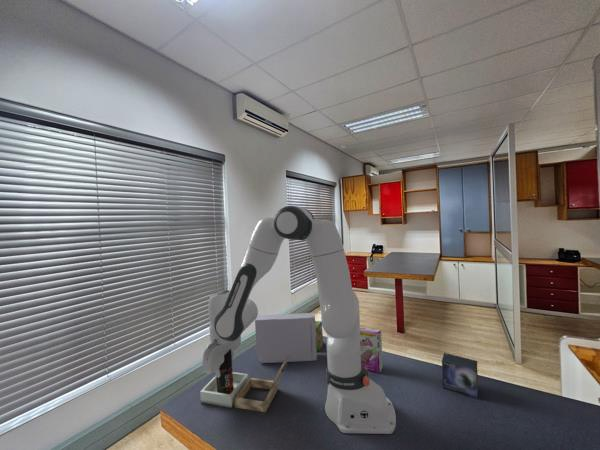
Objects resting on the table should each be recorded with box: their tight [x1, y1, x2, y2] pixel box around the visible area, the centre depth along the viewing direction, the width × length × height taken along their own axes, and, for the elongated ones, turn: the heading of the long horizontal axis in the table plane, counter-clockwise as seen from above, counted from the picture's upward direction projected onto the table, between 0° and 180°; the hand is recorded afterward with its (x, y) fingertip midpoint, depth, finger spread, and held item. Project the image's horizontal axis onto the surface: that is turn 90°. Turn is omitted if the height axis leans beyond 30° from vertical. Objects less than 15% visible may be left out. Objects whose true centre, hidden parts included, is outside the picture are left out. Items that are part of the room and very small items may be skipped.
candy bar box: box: [360, 325, 384, 374], centre depth 104 cm, size 11×5×16 cm, turn 58°
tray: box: [199, 371, 249, 409], centre depth 93 cm, size 13×13×4 cm
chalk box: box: [315, 320, 324, 353], centre depth 123 cm, size 9×9×15 cm
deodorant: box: [216, 349, 234, 394], centre depth 93 cm, size 6×6×15 cm
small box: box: [441, 352, 479, 400], centre depth 88 cm, size 11×6×10 cm, turn 53°
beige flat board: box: [265, 355, 289, 404], centre depth 87 cm, size 12×12×1 cm
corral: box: [234, 377, 279, 413], centre depth 89 cm, size 12×12×3 cm
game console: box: [254, 312, 318, 364], centre depth 113 cm, size 6×27×20 cm, turn 89°
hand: (224, 370), depth 93 cm, fingers closed on deodorant, 6 cm apart
